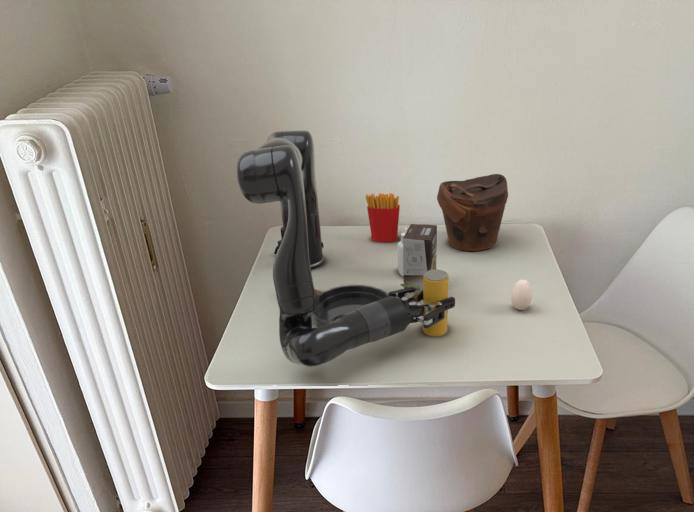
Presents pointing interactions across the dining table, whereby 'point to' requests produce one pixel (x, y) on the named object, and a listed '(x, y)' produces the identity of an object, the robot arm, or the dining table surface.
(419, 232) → the coffee box
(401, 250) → the eye dropper bottle
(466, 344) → the dining table surface
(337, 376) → the dining table surface
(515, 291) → the egg
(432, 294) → the can
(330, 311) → the pan
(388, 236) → the french fries
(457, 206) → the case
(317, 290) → the pan handle
